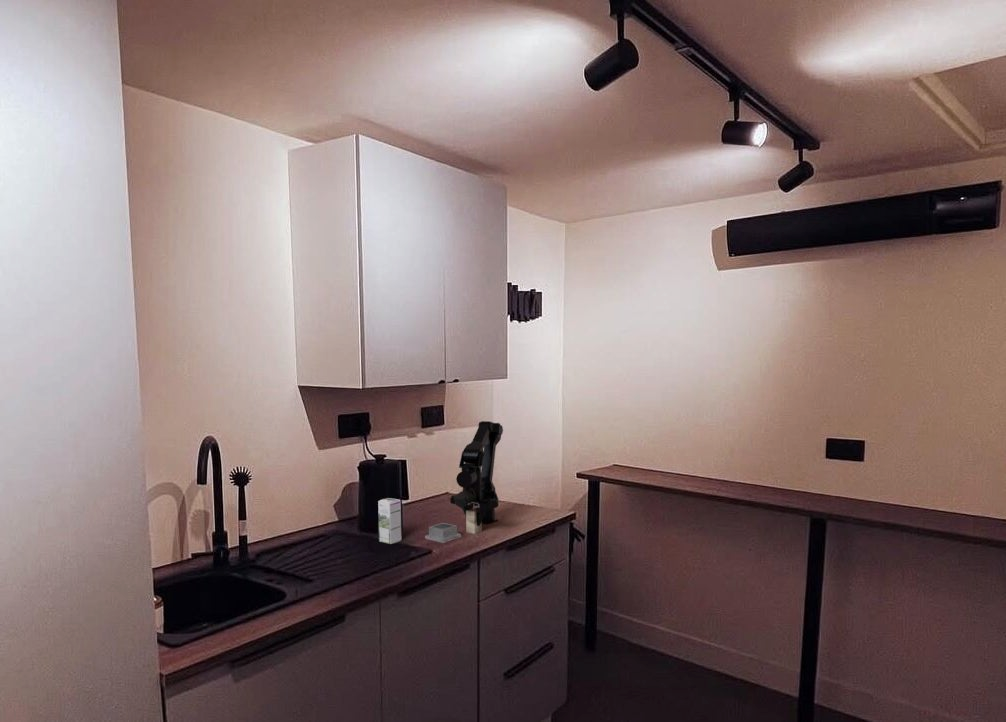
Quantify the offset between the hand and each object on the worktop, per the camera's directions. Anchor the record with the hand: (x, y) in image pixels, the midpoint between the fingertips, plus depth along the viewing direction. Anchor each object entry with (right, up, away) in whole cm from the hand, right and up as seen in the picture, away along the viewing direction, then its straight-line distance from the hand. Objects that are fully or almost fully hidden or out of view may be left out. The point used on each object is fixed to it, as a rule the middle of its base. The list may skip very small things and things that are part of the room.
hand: (474, 524), depth 222 cm
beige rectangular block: (0, -3, 0) cm, 2 cm away
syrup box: (-29, -3, -10) cm, 31 cm away
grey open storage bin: (-11, -3, -7) cm, 13 cm away
